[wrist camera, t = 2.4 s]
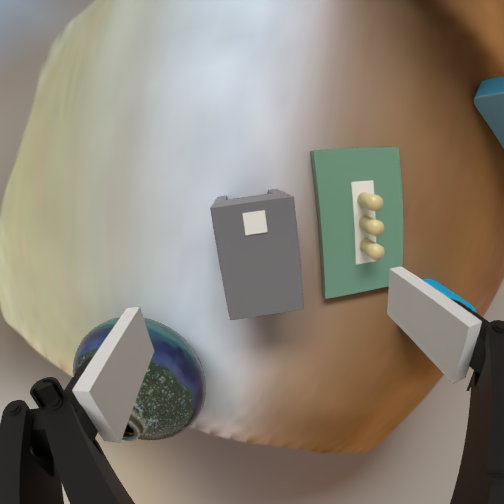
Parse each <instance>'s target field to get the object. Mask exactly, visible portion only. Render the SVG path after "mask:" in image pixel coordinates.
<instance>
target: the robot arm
mask: <svg viewBox="0 0 504 504" xmlns="http://www.w3.org/2000/svg"><path fill="white" fill-rule="evenodd" d="M387 315H388V316H389V317H390V318H391V319H392V320H393V321H394V322H395V323H396V324H397V325H398V326H399V327H400V328H401V329H402V330H403V331H404V332H405V333H406V334H407V335H408V336H409V337H410V338H411V339H412V340H413V341H414V342H415V343H416V345H417V346H418V347H419V348H420V349H421V350H422V351H423V352H424V353H425V354H426V355H427V356H428V357H429V358H430V359H431V361H432V362H433V363H434V364H435V365H436V366H437V367H438V368H439V369H440V370H441V371H442V373H443V374H444V375H445V376H446V377H447V378H448V379H449V380H450V381H451V383H455V382H457V381H459V380H461V379H463V378H465V377H466V374H467V371H468V369H469V366H470V367H471V368H472V369H473V370H474V372H473V375H472V378H471V380H470V383H469V386H468V388H467V391H469V389H470V387H471V398H470V408H469V418H468V425H467V432H466V439H465V445H464V450H463V455H462V460H461V465H460V469H459V474H458V478H457V482H456V485H455V489H454V492H453V496H452V499H451V503H450V504H504V321H500V320H496V321H492V322H490V323H489V322H488V321H487V320H485V319H484V318H483V317H481V316H480V315H478V314H477V313H476V312H474V311H472V310H471V309H470V308H468V307H467V306H465V305H464V304H463V303H461V302H460V301H457V300H454V299H451V298H448V297H447V296H445V295H444V294H442V293H441V292H439V291H438V290H436V289H435V288H434V287H432V286H431V285H429V284H428V283H426V282H424V281H423V280H421V279H420V278H418V277H417V276H415V275H414V274H412V273H411V272H409V271H408V270H406V269H404V268H403V267H401V266H400V267H395V268H390V269H389V291H388V308H387ZM153 353H154V348H153V345H152V343H151V340H150V337H149V334H148V331H147V328H146V324H145V321H144V318H143V315H142V312H141V308H140V307H133V308H127V309H126V310H125V312H124V313H123V314H122V316H121V317H120V319H119V320H118V321H117V323H116V324H115V326H114V327H113V329H112V330H111V332H110V333H109V334H108V336H107V337H106V339H105V340H104V342H103V343H102V345H101V346H100V348H99V349H98V351H97V352H96V354H95V355H94V357H89V358H88V359H87V360H85V361H84V362H83V363H82V364H81V366H80V367H79V369H78V371H77V372H76V373H75V375H74V377H73V378H72V379H71V381H70V382H69V384H68V385H67V387H66V389H65V390H63V389H62V387H61V385H60V383H59V382H58V380H57V379H56V378H53V377H47V378H44V379H41V380H39V381H37V382H36V383H35V384H34V385H33V386H32V388H31V390H30V394H31V396H32V397H33V399H34V401H35V402H36V404H37V405H38V407H39V408H37V409H29V407H28V406H27V404H26V403H25V402H24V401H22V400H16V401H12V402H11V403H9V404H8V405H7V406H6V408H5V409H4V411H3V415H2V420H1V423H0V504H64V501H63V493H62V484H63V487H64V490H65V492H66V495H67V497H68V500H69V502H70V504H135V503H134V502H133V500H132V499H131V497H130V496H129V494H128V493H127V491H126V490H125V488H124V487H123V485H122V484H121V482H120V481H119V479H118V477H117V476H116V474H115V472H114V470H113V469H112V467H111V465H110V464H109V462H108V460H107V459H106V456H105V455H104V453H103V451H102V449H101V447H100V445H99V443H98V442H97V441H96V440H95V437H96V435H97V432H98V433H99V434H100V435H101V437H102V438H103V440H104V441H110V442H119V443H121V441H122V438H123V435H124V432H125V429H126V426H127V423H128V420H129V417H130V415H131V412H132V409H133V406H134V403H135V401H136V398H137V395H138V392H139V390H140V387H141V384H142V382H143V379H144V377H145V374H146V371H147V369H148V366H149V364H150V361H151V358H152V356H153ZM61 482H62V483H61Z"/></svg>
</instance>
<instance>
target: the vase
mask: <svg viewBox="0 0 504 504" xmlns="http://www.w3.org/2000/svg"><path fill="white" fill-rule="evenodd" d="M119 319H120V318H115V319H111V320H108V321H106V322H104V323H102V324H100V325H98V326H97V327H95V328H94V329H93V330H91V331H90V332H89V333H88V334H87V335H86V336H85V337H84V339H83V340H82V342H81V343H80V345H79V347H78V349H77V351H76V354H75V358H74V363H73V376H74V375H75V373H76V372H77V371H78V369H79V367H80V366H81V364H82V363H83V362H84V361H85V360H87V359H88V358H89V357H94V355H95V354H96V352H97V351H98V349H99V348H100V346H101V345H102V343H103V342H104V340H105V339H106V337H107V336H108V334H109V333H110V332H111V330H112V329H113V327H114V326H115V324H116V323H117V321H118V320H119ZM144 321H145V324H146V328H147V331H148V334H149V337H150V340H151V343H152V345H153V348H154V353H153V356H152V358H151V361H150V364H149V366H148V369H147V371H146V374H145V377H144V379H143V382H142V384H141V387H140V390H139V392H138V395H137V398H136V401H135V403H134V406H133V409H132V412H131V415H130V417H129V420H128V423H127V426H126V429H125V432H124V435H123V438H122V440H125V441H134V440H137V439H141V440H160V439H166V438H169V437H173V436H175V435H177V434H179V433H181V432H183V431H184V430H186V429H187V428H188V427H189V426H191V425H192V423H193V422H194V421H195V420H196V419H197V417H198V416H199V414H200V412H201V409H202V407H203V404H204V399H205V395H206V386H205V377H204V372H203V369H202V366H201V363H200V361H199V359H198V357H197V355H196V354H195V352H194V351H193V349H192V348H191V346H190V345H189V344H188V343H187V342H186V340H185V339H183V338H182V337H181V336H180V335H179V334H178V333H176V332H175V331H174V330H172V329H171V328H169V327H167V326H165V325H163V324H161V323H159V322H156V321H154V320H151V319H147V318H144Z"/></svg>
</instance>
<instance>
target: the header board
mask: <svg viewBox="0 0 504 504" xmlns="http://www.w3.org/2000/svg"><path fill="white" fill-rule="evenodd" d="M310 152H311V160H312V168H313V177H314V186H315V196H316V206H317V217H318V228H319V241H320V255H321V271H322V291H323V296H324V297H325V299H328V298H334V297H339V296H344V295H349V294H354V293H359V292H364V291H369V290H374V289H378V288H383V287H388V286H389V269H390V268H395V267H400V266H401V267H402V266H403V202H402V183H401V170H400V159H399V149H398V147H375V148H348V149H330V150H315V151H310Z"/></svg>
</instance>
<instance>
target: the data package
mask: <svg viewBox="0 0 504 504" xmlns="http://www.w3.org/2000/svg"><path fill="white" fill-rule="evenodd" d="M474 105H475V107H476V108H477V110H478V111H479V112H480V114H481V115H482V117H483V118H484V120H485V121H486V122H487V124H488V125H489V127H490V128H491V130H492V131H493V133H494V135H495V136H496V138H497V139H498V141H499V143H500V144H501V146H502V148H503V149H504V76H502V77H497V78H492V79H488V80H483V81H482V82H481V84H480V86H479V89H478V91H477V93H476V95H475V98H474Z"/></svg>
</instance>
